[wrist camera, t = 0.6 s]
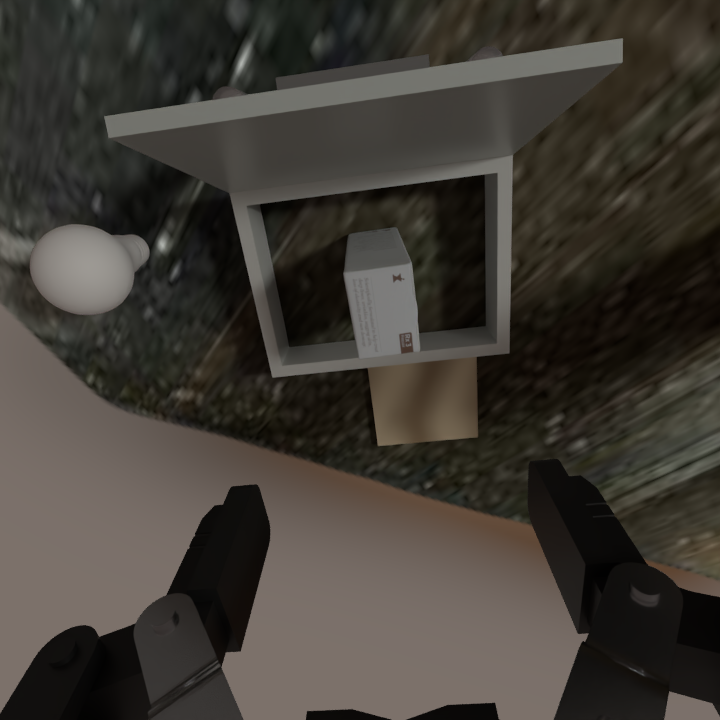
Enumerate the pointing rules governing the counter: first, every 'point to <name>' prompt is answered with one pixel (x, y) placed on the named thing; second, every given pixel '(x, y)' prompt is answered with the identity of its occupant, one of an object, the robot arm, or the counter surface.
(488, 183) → the case
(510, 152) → the lid
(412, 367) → the mat
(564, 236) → the counter surface
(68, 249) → the lightbulb
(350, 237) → the skincare box
